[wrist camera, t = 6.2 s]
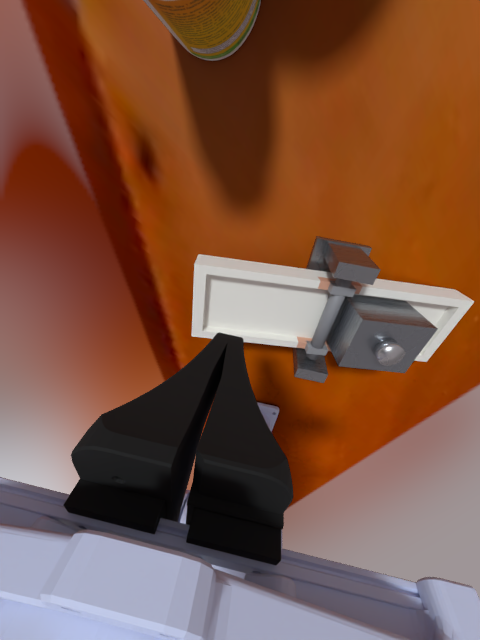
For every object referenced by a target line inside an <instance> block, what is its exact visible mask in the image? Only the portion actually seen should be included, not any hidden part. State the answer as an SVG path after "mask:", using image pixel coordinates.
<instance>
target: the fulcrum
mask: <svg viewBox="0 0 480 640" xmlns="http://www.w3.org/2000/svg"><path fill="white" fill-rule="evenodd" d="M371 249H372V248H371V247H370V246H366V245H360V244H355V243H350V242H344V241H339V240H334V239H328V238H323V237H318V236H316V239H315V242H314V246H313V249H312V252H311V255H310V258H309V261H308V265H307V268H306V269H310V270H317V271H325V272H331V274H332V276H333V278H339V279H344V280H349V281H354V282H359V283H364V284H370V285H373V284H374V282H375V280H376V278H377V276H378V274H379V272H380V269H379V267H378V266H377V265H376V264H375V263H374V262H373V261H372V260H371V259H370V258H369V257H368V256H369V254H370V251H371ZM293 360H294V377H298V378H303V379H307V380H312V381H317V382H322V383H324V381H325V379H326V377H327V375H328V372H327V367H326V363H325V358H324V355H319V357H318V359H317V360H311V359H309V358H308V357H307V356H306V351H305V349H304V348H295V347H293Z"/></svg>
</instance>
